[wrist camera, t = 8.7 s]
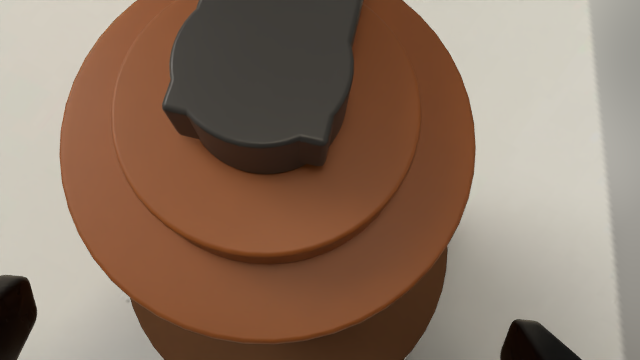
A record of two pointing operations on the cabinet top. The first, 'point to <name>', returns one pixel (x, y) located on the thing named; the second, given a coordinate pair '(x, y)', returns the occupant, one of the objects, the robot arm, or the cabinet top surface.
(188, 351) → the coaster
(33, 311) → the robot arm
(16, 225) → the cabinet top surface
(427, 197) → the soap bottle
